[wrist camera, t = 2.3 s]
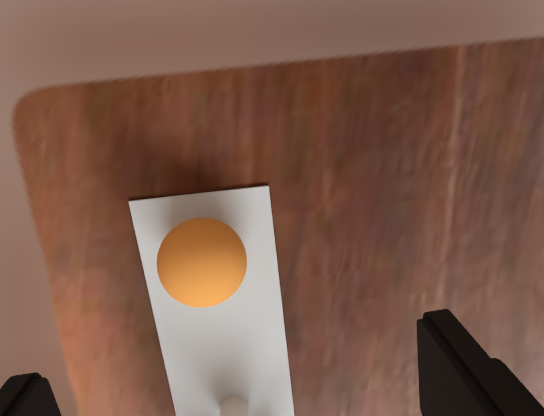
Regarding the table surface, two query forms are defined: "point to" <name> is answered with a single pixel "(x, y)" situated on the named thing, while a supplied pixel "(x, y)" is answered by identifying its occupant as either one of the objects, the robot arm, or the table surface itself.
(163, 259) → the ball
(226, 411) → the pin
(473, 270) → the table surface
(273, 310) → the plate
